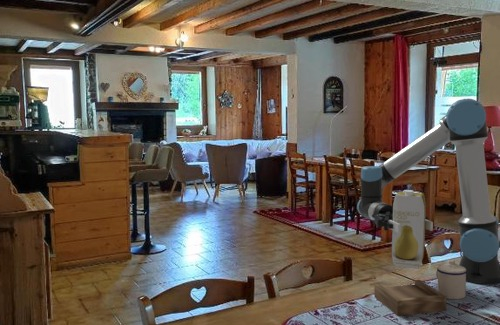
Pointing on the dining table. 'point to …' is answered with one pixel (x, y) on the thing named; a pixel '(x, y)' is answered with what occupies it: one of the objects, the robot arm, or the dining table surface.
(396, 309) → the wooden tray
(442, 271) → the teacup with lid
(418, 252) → the juice carton
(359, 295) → the dining table surface
